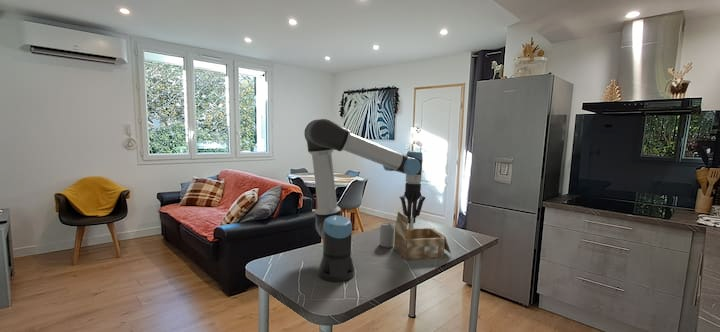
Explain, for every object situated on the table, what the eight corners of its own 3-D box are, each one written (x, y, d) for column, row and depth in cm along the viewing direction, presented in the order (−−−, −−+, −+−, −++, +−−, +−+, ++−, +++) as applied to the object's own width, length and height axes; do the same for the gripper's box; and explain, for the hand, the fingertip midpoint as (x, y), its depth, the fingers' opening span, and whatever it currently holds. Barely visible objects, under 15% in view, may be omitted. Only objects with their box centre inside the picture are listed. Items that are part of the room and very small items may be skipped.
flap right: (451, 253, 157) (450, 253, 157) (438, 243, 171) (437, 243, 171) (445, 236, 155) (444, 237, 155) (432, 228, 169) (432, 228, 169)
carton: (405, 260, 150) (406, 240, 149) (393, 247, 167) (394, 229, 166) (444, 258, 155) (445, 238, 154) (429, 246, 171) (430, 227, 170)
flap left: (404, 237, 151) (403, 237, 151) (395, 228, 165) (394, 228, 164) (408, 218, 150) (407, 218, 150) (399, 211, 164) (398, 211, 164)
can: (392, 248, 166) (393, 226, 164) (378, 247, 167) (379, 224, 166) (394, 244, 173) (395, 222, 172) (380, 242, 174) (381, 221, 173)
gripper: (403, 183, 151) (400, 232, 154) (428, 183, 154) (426, 231, 156) (398, 181, 159) (395, 227, 161) (422, 181, 161) (420, 227, 164)
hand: (410, 229), depth 159 cm, fingers closed
